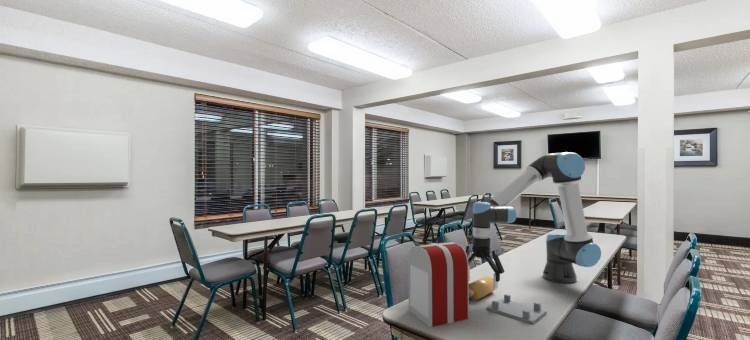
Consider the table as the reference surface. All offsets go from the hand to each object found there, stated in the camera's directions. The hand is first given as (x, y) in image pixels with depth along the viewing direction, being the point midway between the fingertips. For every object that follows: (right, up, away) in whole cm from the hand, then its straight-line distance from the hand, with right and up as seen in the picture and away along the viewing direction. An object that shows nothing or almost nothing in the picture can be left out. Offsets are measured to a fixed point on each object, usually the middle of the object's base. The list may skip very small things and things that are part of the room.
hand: (481, 284), depth 148 cm
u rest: (+8, -5, -17) cm, 20 cm away
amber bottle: (-2, -5, -2) cm, 5 cm away
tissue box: (-23, -5, -19) cm, 30 cm away
